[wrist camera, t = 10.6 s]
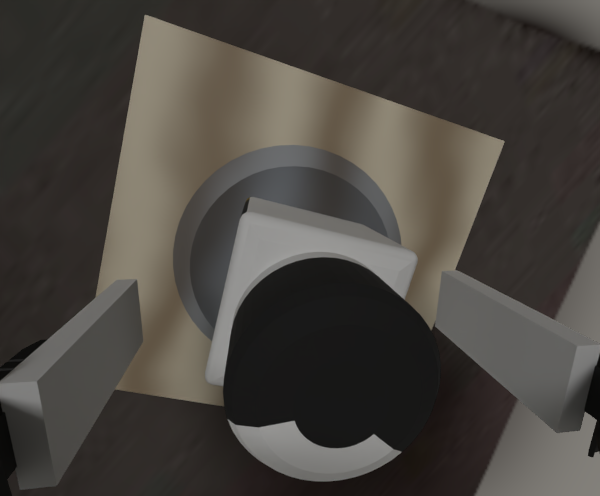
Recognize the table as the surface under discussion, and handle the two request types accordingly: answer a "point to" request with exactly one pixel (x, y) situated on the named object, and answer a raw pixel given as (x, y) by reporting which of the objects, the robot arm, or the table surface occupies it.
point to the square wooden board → (266, 186)
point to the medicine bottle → (321, 344)
